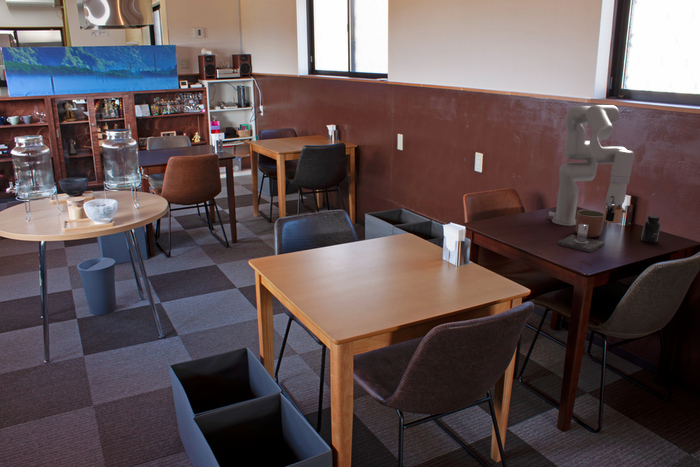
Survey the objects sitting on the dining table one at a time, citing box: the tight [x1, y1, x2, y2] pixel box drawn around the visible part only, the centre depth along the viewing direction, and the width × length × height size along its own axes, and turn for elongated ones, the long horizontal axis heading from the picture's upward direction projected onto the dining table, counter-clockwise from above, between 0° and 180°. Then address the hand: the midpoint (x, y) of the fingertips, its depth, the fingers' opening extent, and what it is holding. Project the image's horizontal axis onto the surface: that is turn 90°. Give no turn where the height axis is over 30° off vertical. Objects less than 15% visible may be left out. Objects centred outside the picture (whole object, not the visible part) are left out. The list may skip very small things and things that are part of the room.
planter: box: [575, 209, 605, 238], centre depth 263 cm, size 12×12×11 cm
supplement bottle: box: [640, 214, 661, 244], centre depth 255 cm, size 7×7×12 cm
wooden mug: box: [603, 205, 627, 224], centre depth 237 cm, size 8×7×6 cm
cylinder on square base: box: [557, 224, 605, 253], centre depth 248 cm, size 15×15×10 cm
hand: (612, 218), depth 238 cm, fingers closed on wooden mug, 7 cm apart
